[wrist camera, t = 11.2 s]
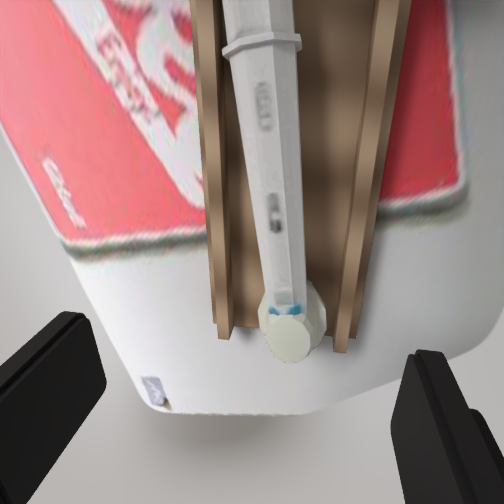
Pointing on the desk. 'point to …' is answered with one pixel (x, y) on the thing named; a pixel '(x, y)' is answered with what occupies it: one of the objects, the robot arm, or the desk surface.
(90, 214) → the desk surface
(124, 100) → the desk surface
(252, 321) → the fitting board
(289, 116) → the toothbrush head
